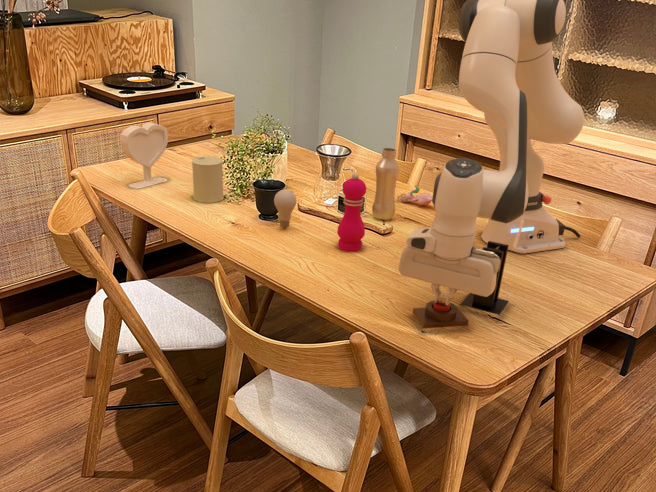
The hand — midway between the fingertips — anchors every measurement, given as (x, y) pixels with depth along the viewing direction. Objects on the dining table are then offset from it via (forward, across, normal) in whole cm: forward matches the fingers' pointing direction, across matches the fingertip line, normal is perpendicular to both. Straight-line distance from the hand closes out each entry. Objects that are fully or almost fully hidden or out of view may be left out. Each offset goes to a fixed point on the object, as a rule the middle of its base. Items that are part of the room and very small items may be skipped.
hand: (442, 303), depth 149 cm
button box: (+5, 0, 0) cm, 5 cm away
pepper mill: (+5, +34, -27) cm, 44 cm away
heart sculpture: (+5, +112, -38) cm, 118 cm away
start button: (+2, 0, 0) cm, 2 cm away
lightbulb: (+5, +56, -29) cm, 63 cm away
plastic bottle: (+5, +36, -52) cm, 64 cm away
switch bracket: (+5, -6, -13) cm, 15 cm away
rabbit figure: (+5, +31, -70) cm, 76 cm away
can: (+5, +88, -38) cm, 95 cm away
